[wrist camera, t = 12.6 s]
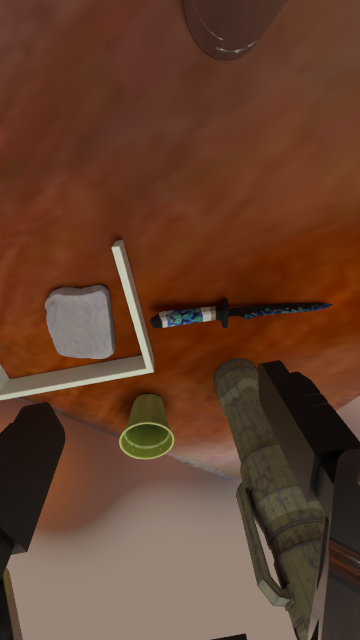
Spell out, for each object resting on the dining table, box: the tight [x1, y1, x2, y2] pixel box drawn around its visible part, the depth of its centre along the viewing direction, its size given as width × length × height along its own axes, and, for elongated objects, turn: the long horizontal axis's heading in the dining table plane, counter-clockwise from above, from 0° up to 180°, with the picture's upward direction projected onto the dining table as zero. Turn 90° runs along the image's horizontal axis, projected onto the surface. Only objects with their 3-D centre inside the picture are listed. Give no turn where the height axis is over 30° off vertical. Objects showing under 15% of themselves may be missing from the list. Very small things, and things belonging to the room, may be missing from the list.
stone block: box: [45, 285, 115, 359], centre depth 40 cm, size 12×5×10 cm
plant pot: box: [119, 394, 174, 459], centre depth 47 cm, size 9×9×9 cm
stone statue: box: [214, 359, 325, 640], centre depth 34 cm, size 9×12×35 cm
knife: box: [150, 299, 332, 328], centre depth 41 cm, size 31×3×4 cm, turn 87°
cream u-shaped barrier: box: [0, 240, 154, 400], centre depth 39 cm, size 21×27×4 cm
